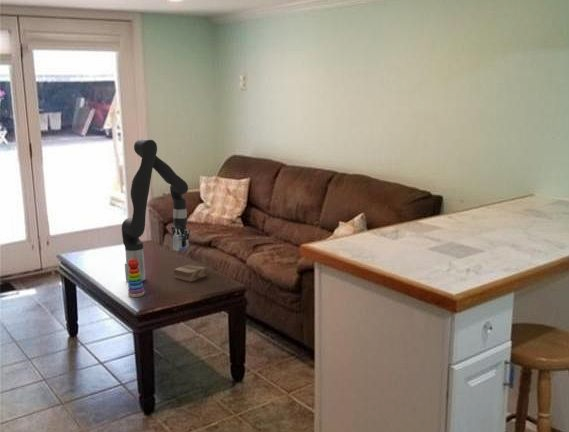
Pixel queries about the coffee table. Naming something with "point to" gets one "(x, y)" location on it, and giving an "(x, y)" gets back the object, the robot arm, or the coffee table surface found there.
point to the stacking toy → (135, 279)
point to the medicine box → (179, 243)
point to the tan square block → (190, 272)
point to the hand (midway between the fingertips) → (181, 245)
